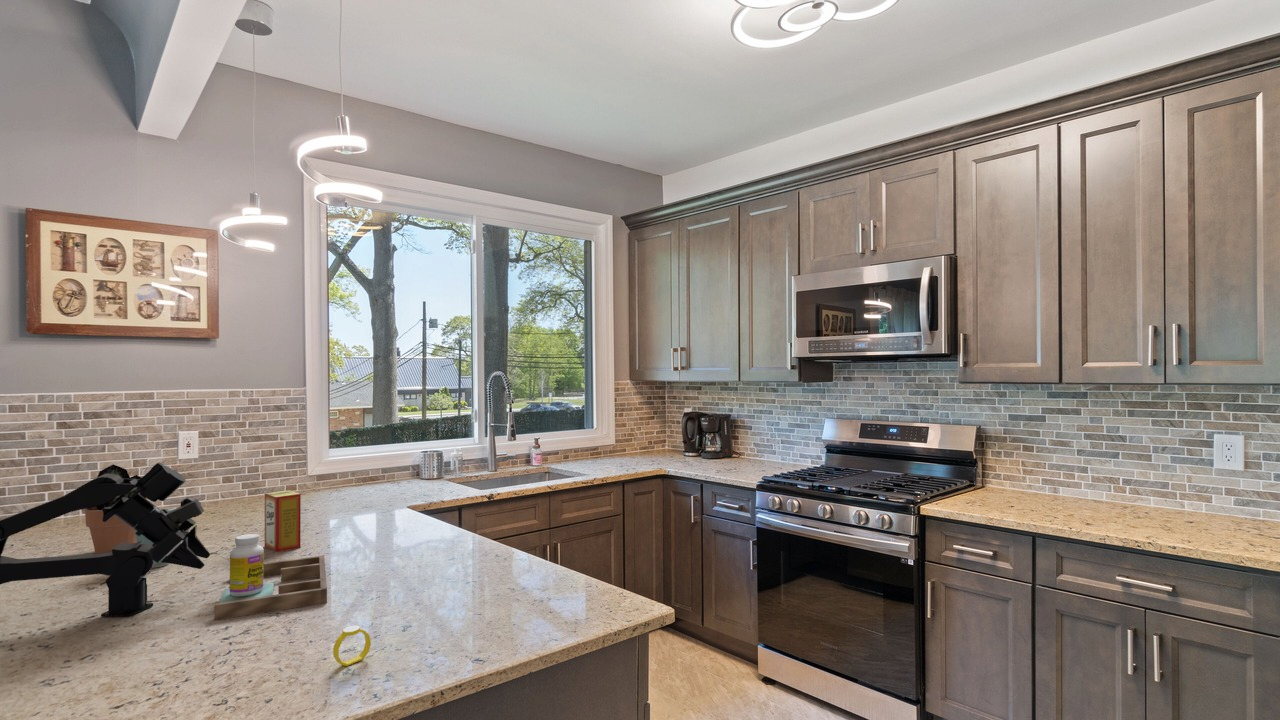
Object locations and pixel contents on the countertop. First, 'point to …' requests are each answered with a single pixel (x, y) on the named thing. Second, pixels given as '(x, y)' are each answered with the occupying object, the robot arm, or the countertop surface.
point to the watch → (348, 632)
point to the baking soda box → (282, 520)
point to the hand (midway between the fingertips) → (205, 561)
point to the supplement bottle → (246, 566)
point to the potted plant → (114, 528)
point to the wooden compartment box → (280, 589)
